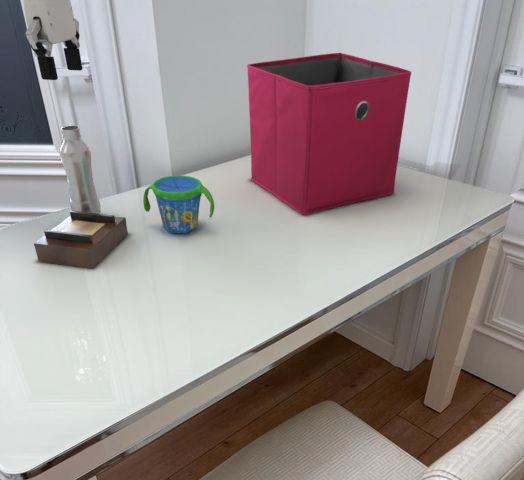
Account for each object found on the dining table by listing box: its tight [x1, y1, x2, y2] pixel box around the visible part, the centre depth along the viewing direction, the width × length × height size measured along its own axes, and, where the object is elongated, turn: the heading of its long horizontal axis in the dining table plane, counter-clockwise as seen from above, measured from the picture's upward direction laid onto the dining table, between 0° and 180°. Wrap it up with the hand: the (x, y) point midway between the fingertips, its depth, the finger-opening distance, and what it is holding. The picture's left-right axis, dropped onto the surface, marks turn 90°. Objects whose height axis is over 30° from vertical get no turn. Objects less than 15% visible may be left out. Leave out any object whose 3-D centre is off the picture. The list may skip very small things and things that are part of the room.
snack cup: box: [142, 175, 215, 235], centre depth 120 cm, size 16×10×10 cm
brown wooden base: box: [33, 210, 129, 269], centre depth 114 cm, size 12×16×6 cm
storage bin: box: [246, 52, 412, 217], centre depth 134 cm, size 28×29×28 cm
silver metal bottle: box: [59, 125, 102, 214], centre depth 121 cm, size 6×7×20 cm
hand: (63, 74), depth 110 cm, fingers open, 9 cm apart
